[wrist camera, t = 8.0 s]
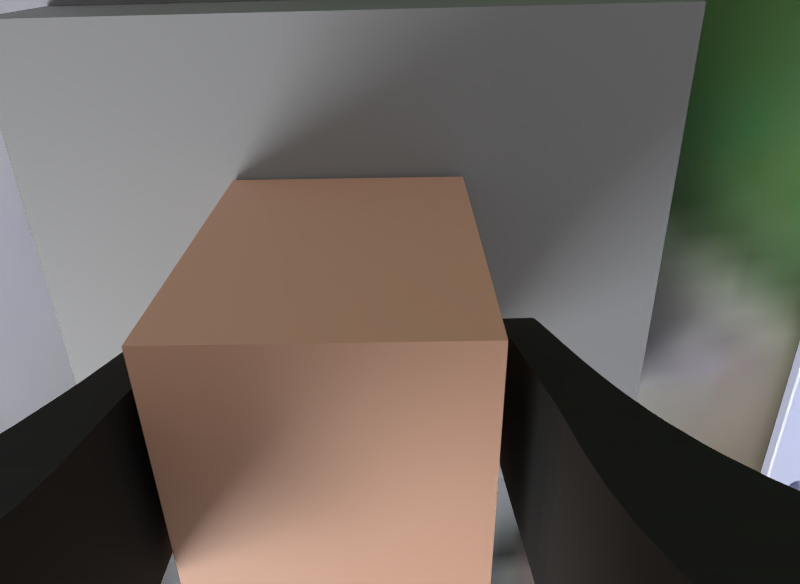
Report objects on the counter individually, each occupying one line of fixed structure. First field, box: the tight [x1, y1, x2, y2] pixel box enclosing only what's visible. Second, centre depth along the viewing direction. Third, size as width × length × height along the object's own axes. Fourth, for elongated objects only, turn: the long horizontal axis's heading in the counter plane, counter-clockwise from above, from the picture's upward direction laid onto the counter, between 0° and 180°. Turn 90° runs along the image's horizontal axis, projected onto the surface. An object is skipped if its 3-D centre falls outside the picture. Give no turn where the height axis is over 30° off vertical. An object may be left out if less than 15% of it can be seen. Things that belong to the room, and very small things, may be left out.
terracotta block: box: [122, 177, 508, 584], centre depth 11 cm, size 4×4×6 cm
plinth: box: [0, 0, 706, 479], centre depth 16 cm, size 13×11×3 cm
